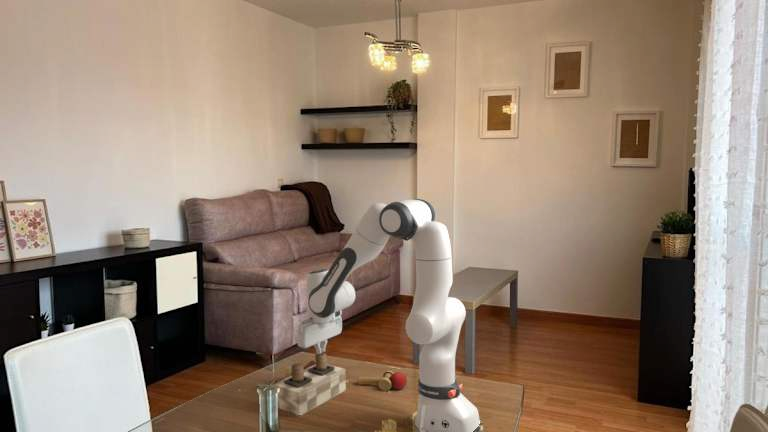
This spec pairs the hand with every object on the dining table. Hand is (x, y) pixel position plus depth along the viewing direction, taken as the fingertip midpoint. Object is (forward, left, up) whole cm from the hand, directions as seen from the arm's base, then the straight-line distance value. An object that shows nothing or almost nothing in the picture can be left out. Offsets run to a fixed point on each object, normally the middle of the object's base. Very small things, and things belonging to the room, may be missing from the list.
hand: (320, 352), depth 203 cm
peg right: (0, 0, -9) cm, 9 cm away
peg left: (0, +12, -9) cm, 15 cm away
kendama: (-15, -16, -15) cm, 27 cm away
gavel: (+17, -11, -15) cm, 25 cm away
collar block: (0, +6, -15) cm, 16 cm away
